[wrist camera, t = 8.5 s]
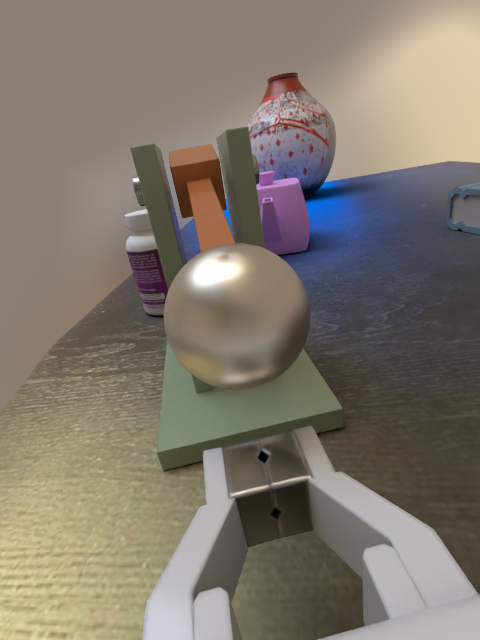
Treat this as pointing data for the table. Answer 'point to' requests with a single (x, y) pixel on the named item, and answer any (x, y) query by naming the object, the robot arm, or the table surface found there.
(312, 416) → the bracket
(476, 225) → the book
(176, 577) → the robot arm
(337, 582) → the table surface
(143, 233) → the pill bottle
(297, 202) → the teapot
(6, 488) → the table surface
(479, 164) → the table surface
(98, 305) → the table surface
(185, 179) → the lever
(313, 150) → the vase
